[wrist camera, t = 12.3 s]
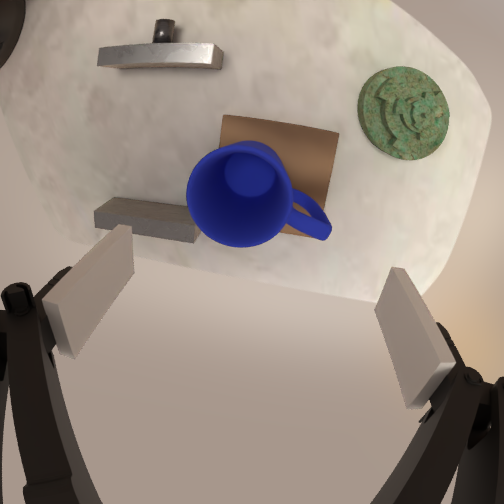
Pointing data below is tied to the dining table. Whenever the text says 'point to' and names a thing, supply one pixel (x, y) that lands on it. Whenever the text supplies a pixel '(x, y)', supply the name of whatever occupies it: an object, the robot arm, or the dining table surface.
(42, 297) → the robot arm
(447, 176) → the dining table surface
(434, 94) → the decorative artifact
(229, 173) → the mug
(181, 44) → the vise jaws
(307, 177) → the walnut board
